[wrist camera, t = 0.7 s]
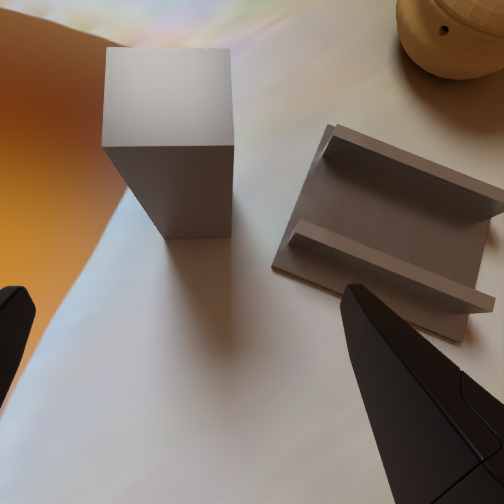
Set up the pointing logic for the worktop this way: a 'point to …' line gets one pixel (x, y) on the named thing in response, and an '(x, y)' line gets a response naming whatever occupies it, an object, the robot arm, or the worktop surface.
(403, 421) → the robot arm
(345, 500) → the worktop surface
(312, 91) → the worktop surface
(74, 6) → the worktop surface
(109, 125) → the gray rectangular block
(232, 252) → the worktop surface
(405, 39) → the pot
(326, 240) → the bracket
